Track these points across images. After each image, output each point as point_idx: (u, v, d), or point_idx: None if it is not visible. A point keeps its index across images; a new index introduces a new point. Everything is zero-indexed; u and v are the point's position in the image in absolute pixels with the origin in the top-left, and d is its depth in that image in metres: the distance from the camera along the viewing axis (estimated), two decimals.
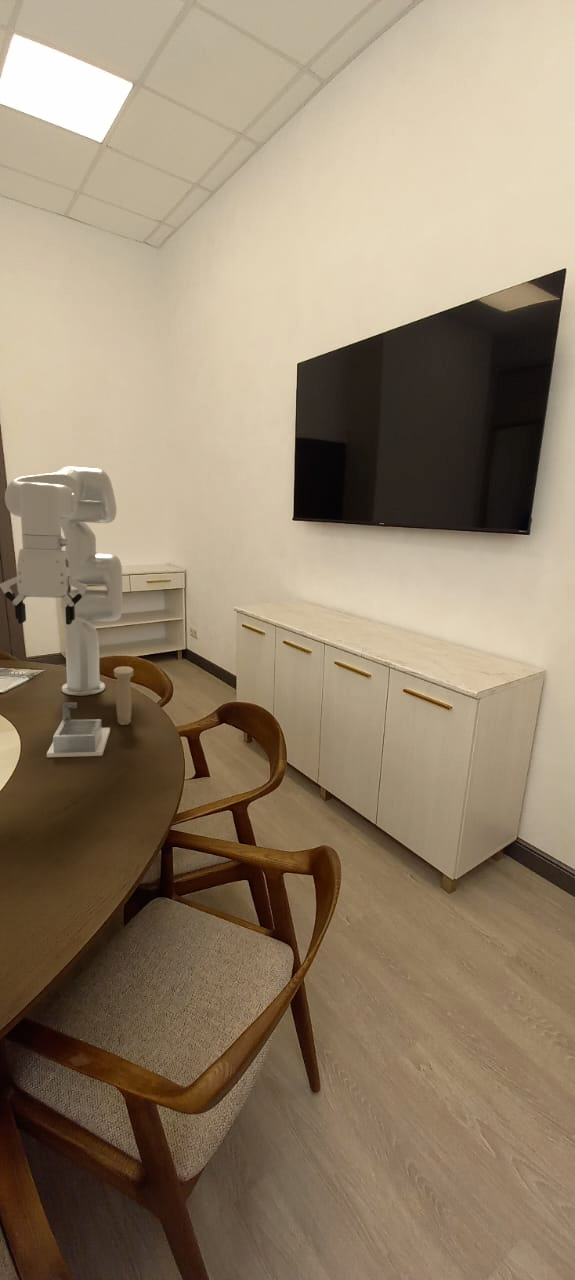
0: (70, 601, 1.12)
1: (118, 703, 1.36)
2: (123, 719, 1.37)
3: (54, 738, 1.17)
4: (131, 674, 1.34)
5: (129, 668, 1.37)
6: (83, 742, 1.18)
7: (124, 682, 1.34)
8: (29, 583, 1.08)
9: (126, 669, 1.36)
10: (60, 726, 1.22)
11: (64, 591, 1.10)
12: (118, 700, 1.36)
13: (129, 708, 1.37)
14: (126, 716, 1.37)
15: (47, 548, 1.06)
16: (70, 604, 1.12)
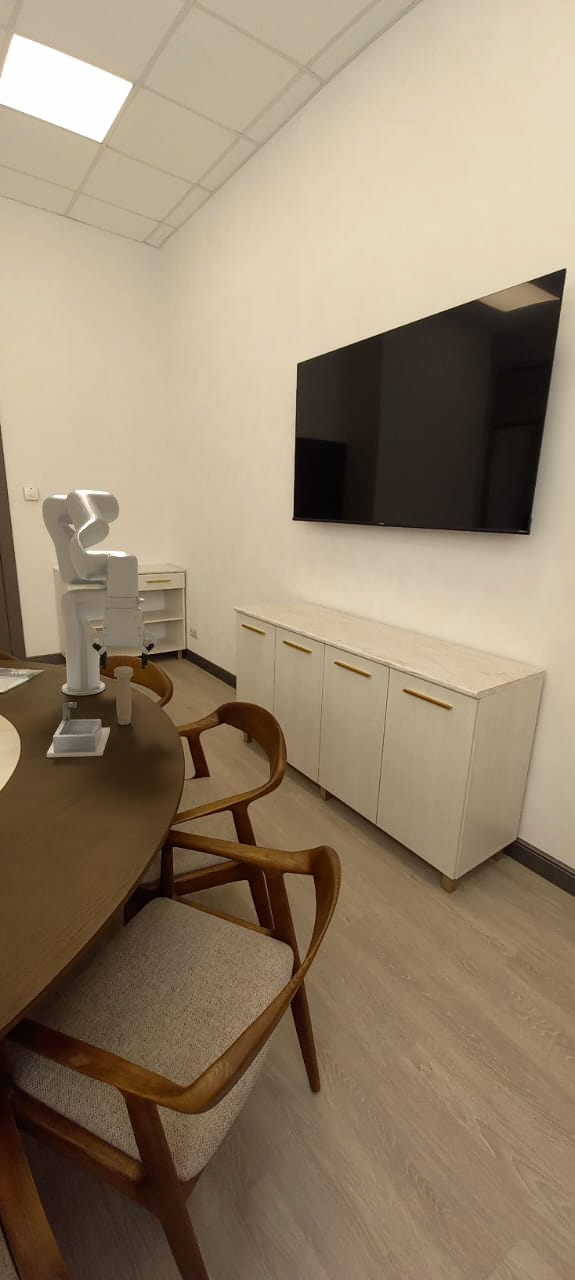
0: (145, 649, 1.33)
1: (118, 703, 1.36)
2: (123, 719, 1.37)
3: (54, 738, 1.17)
4: (131, 674, 1.34)
5: (129, 668, 1.37)
6: (83, 742, 1.18)
7: (124, 682, 1.34)
8: (113, 636, 1.30)
9: (126, 669, 1.36)
10: (60, 726, 1.22)
11: (141, 642, 1.32)
12: (118, 700, 1.36)
13: (129, 708, 1.37)
14: (126, 716, 1.37)
15: (129, 607, 1.28)
16: (145, 652, 1.34)
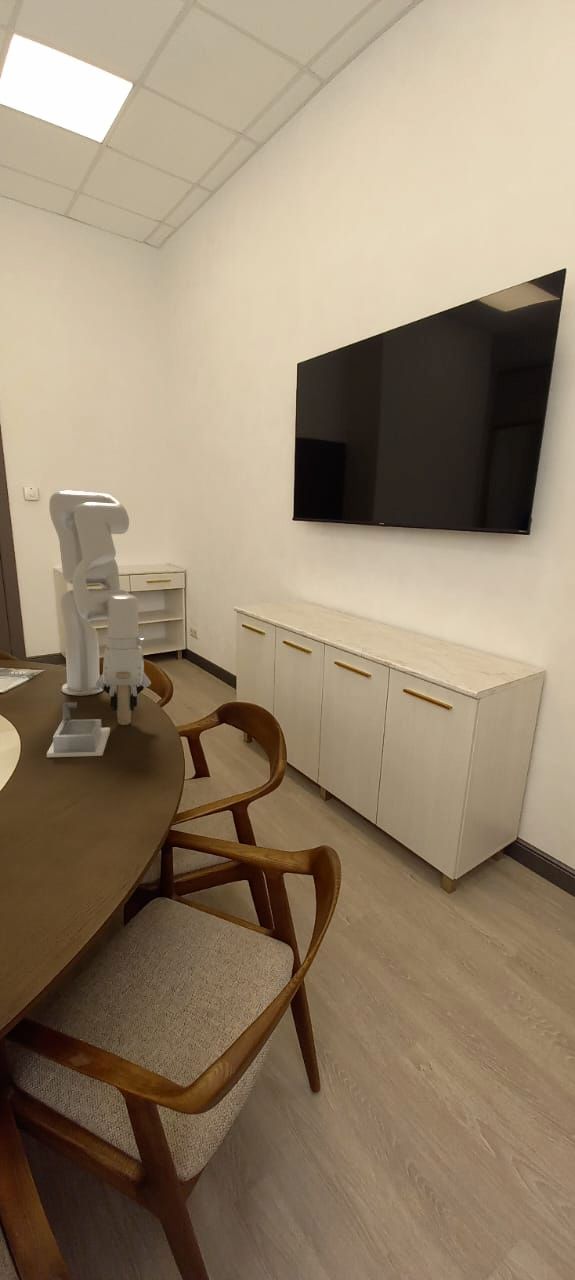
0: (135, 692, 1.36)
1: (118, 703, 1.36)
2: (123, 719, 1.37)
3: (54, 738, 1.17)
4: None
5: None
6: (83, 742, 1.18)
7: None
8: (113, 675, 1.33)
9: None
10: (60, 726, 1.22)
11: (140, 680, 1.35)
12: (118, 700, 1.36)
13: (129, 708, 1.37)
14: (126, 716, 1.37)
15: (129, 648, 1.31)
16: (134, 694, 1.36)
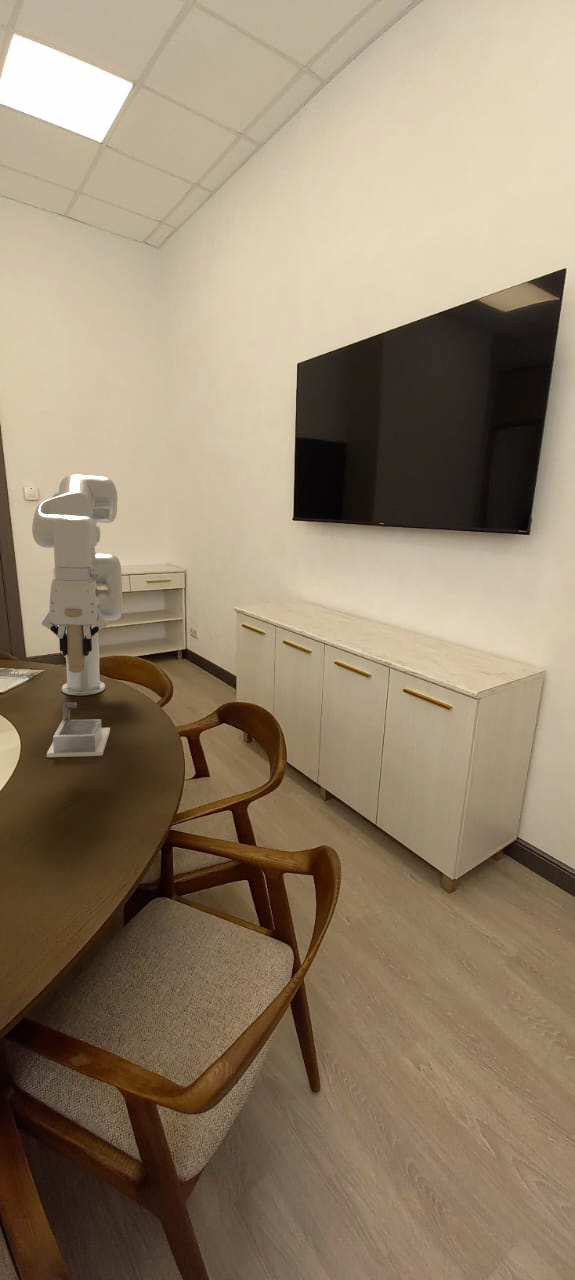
0: (89, 634, 1.17)
1: (68, 646, 1.16)
2: (75, 665, 1.17)
3: (54, 738, 1.17)
4: None
5: None
6: (83, 742, 1.18)
7: None
8: (61, 612, 1.13)
9: None
10: (60, 726, 1.22)
11: (94, 619, 1.16)
12: (68, 643, 1.16)
13: (82, 653, 1.17)
14: (78, 662, 1.17)
15: (79, 579, 1.12)
16: (87, 636, 1.17)
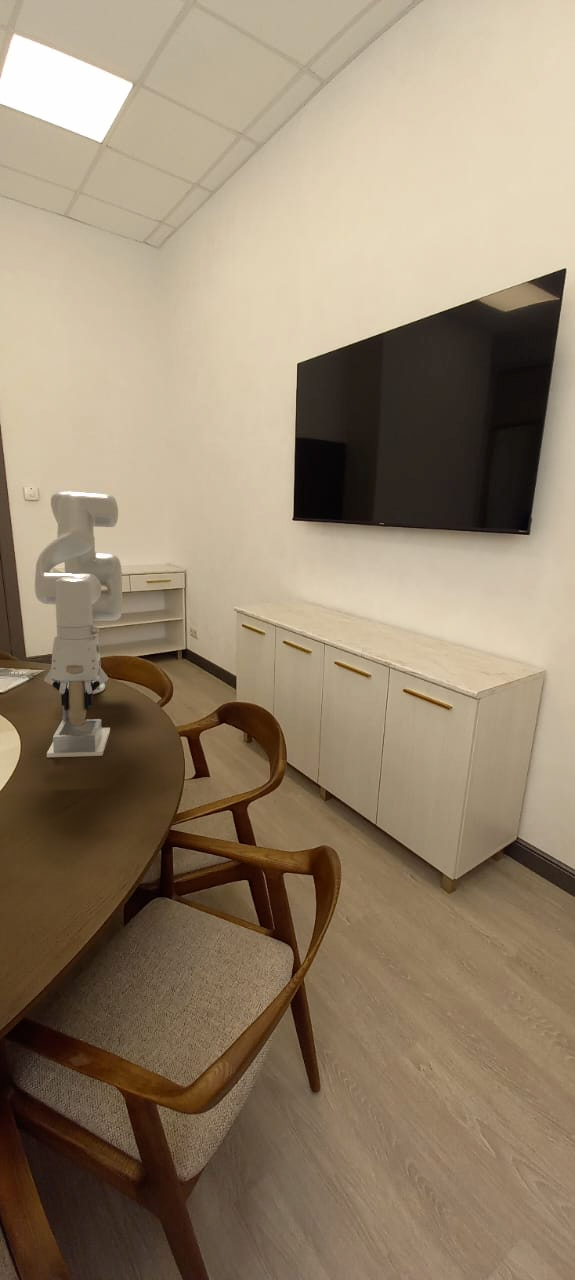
0: (90, 689, 1.20)
1: (70, 701, 1.19)
2: (76, 719, 1.20)
3: (54, 738, 1.17)
4: None
5: None
6: (83, 742, 1.18)
7: None
8: (63, 669, 1.16)
9: None
10: (60, 726, 1.22)
11: (95, 675, 1.18)
12: (70, 698, 1.19)
13: (83, 707, 1.20)
14: (79, 716, 1.20)
15: (80, 638, 1.15)
16: (88, 691, 1.20)
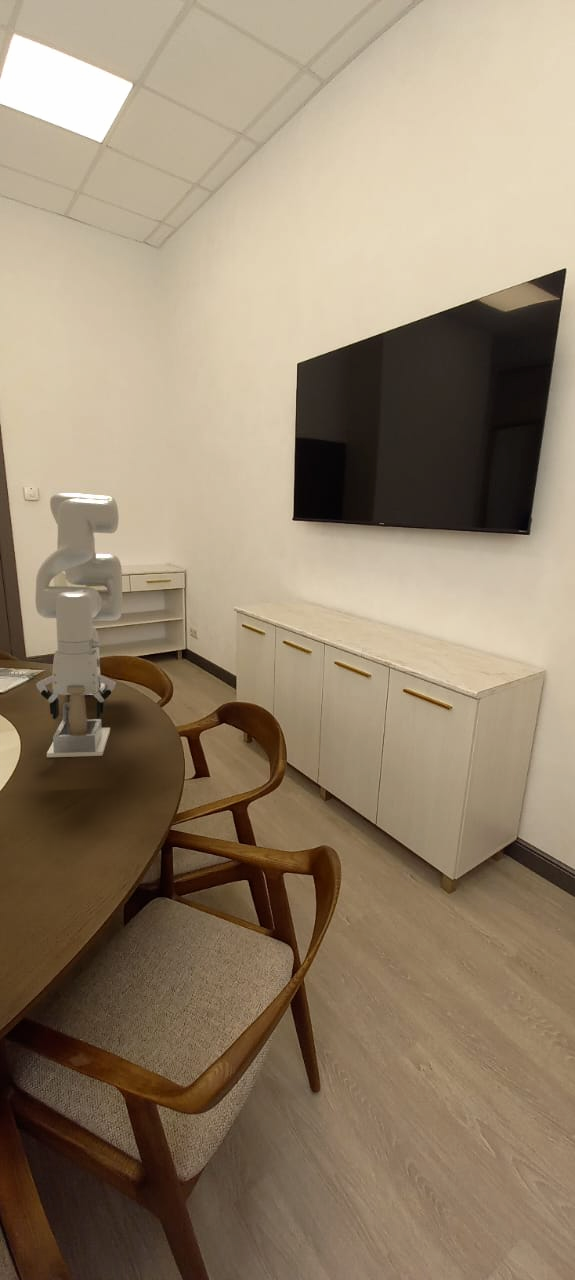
0: (101, 697, 1.21)
1: (71, 721, 1.20)
2: None
3: (54, 738, 1.17)
4: None
5: None
6: (83, 742, 1.18)
7: (77, 697, 1.19)
8: (63, 683, 1.17)
9: None
10: (60, 726, 1.22)
11: (95, 689, 1.19)
12: (71, 717, 1.20)
13: (84, 726, 1.22)
14: None
15: (81, 653, 1.15)
16: (100, 700, 1.21)
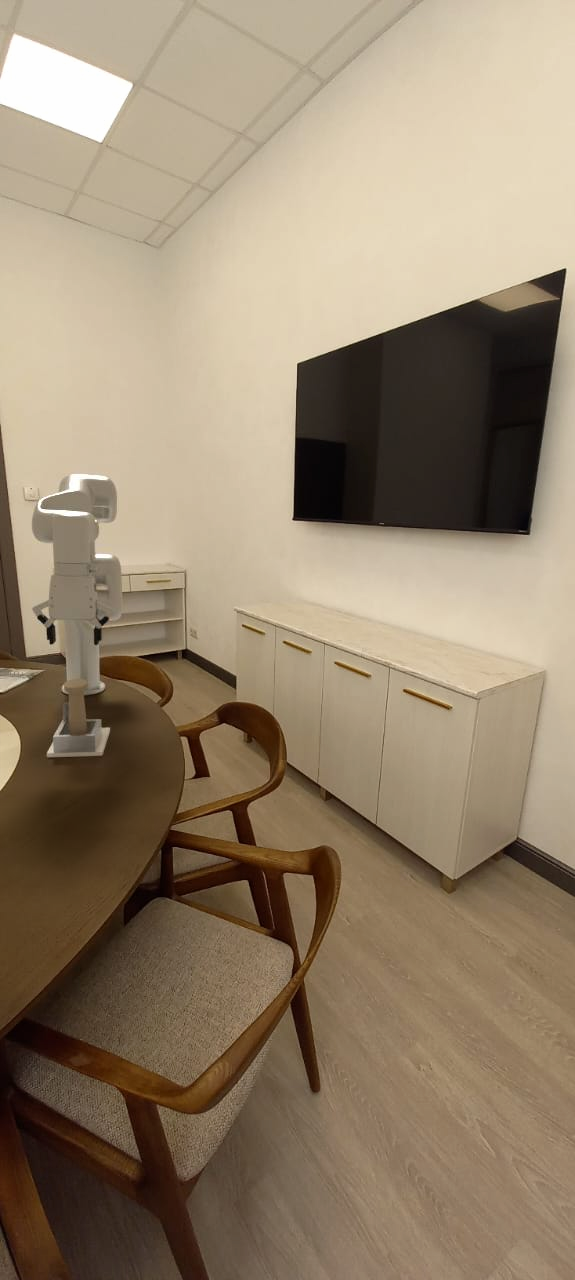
0: (98, 623, 1.19)
1: (70, 720, 1.20)
2: None
3: (54, 738, 1.17)
4: (84, 688, 1.19)
5: (82, 681, 1.22)
6: (83, 742, 1.18)
7: (76, 697, 1.19)
8: (60, 607, 1.15)
9: (79, 682, 1.21)
10: (60, 726, 1.22)
11: (93, 614, 1.17)
12: (70, 717, 1.20)
13: (83, 726, 1.22)
14: None
15: (78, 575, 1.13)
16: (98, 626, 1.19)
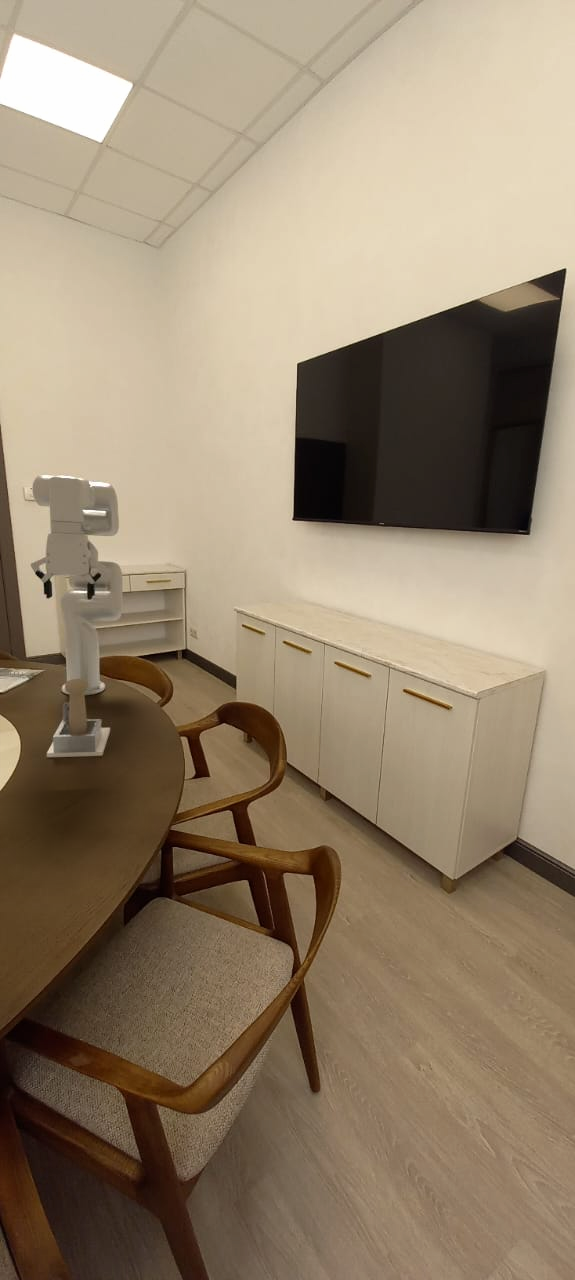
0: (91, 579, 1.29)
1: (71, 720, 1.20)
2: None
3: (54, 738, 1.17)
4: (85, 688, 1.19)
5: (83, 681, 1.22)
6: (83, 742, 1.18)
7: (77, 697, 1.19)
8: (56, 563, 1.26)
9: (80, 682, 1.21)
10: (60, 726, 1.22)
11: (86, 570, 1.28)
12: (70, 717, 1.20)
13: (83, 726, 1.22)
14: None
15: (72, 532, 1.24)
16: (91, 582, 1.29)
